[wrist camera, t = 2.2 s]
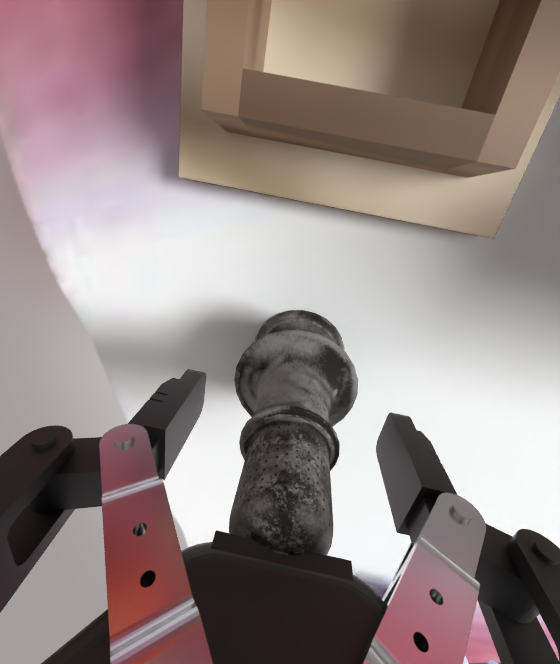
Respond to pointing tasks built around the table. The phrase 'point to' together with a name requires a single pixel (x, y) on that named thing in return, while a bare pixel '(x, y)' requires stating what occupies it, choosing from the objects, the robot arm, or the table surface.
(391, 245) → the table surface
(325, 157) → the sleeve block
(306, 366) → the dark grey chess piece
